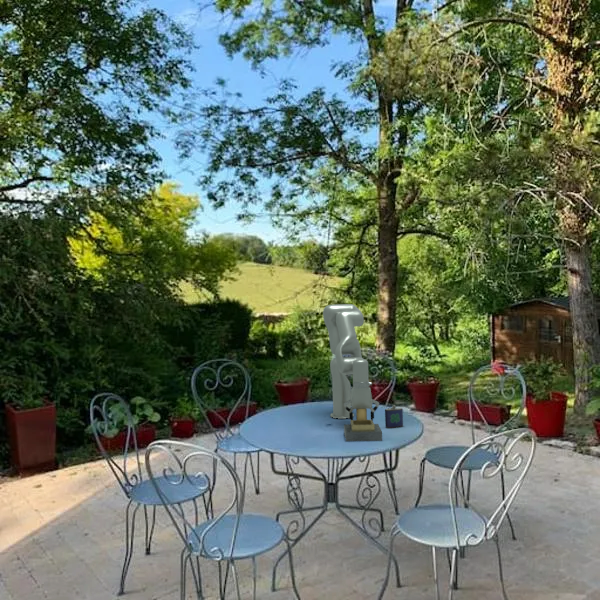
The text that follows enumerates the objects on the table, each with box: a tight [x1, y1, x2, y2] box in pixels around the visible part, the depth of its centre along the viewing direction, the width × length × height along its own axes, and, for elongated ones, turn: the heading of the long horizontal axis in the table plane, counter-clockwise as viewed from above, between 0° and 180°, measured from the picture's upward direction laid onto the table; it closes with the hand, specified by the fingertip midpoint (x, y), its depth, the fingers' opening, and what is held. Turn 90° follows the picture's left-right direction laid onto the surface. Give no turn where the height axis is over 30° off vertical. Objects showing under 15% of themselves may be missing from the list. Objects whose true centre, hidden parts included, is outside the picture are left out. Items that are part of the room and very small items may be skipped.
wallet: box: [384, 404, 404, 429], centre depth 258 cm, size 9×3×11 cm, turn 105°
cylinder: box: [355, 409, 368, 420], centre depth 257 cm, size 5×5×11 cm
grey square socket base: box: [343, 419, 383, 442], centre depth 243 cm, size 14×16×6 cm
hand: (361, 420), depth 256 cm, fingers open, 9 cm apart
